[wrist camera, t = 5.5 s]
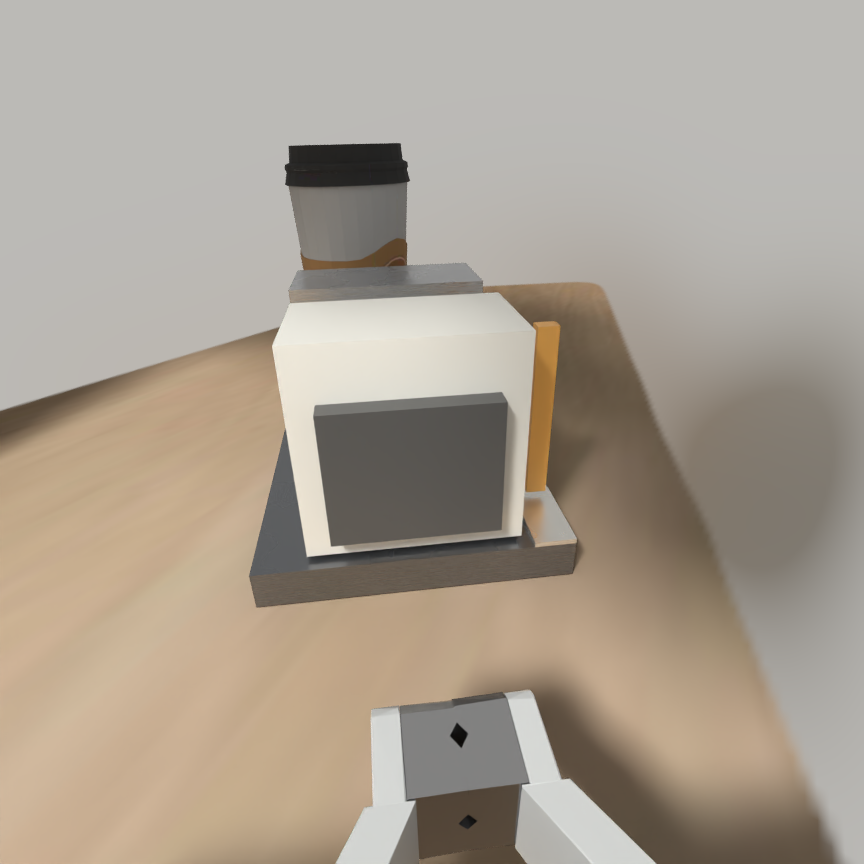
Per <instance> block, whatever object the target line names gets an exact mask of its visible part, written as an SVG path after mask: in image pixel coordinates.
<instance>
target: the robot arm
mask: <svg viewBox="0 0 864 864" xmlns="http://www.w3.org/2000/svg"><path fill="white" fill-rule="evenodd" d="M400 723H401V725H400ZM371 750H372V789H373V806H369V807H364V809H363V811H362V813H361V815H360V817H359V819H358V821H357V823H356V825H355V827H354V829H353V831H352V833H351V835H350V836H349V838H348V840H347V842H346V844H345V846H344V848H343V850H342V852H341V854H340V856H339V858H338V860H337V862H336V864H419V859H424V858H430V857H435V856H441V855H446V854H452V853H457V852H462V851H468V850H477V849H485V848H493V847H501V846H510V845H515V848H516V850H517V851H518V852H519V854H520V855H521V856H522V858H523V859H524V860H525V862H526V863H527V864H656V863H655V862H654V861H653V860H652V859H651V858H650V857H649V856H648V855H647V854H646V853H645V852H644V851H643V850H642V849H641V848H640V847H639V846H638V845H637V844H636V843H635V842H634V841H633V840H632V839H631V838H630V837H629V836H628V835H627V834H626V833H625V832H624V831H623V830H622V829H621V828H620V827H619V826H618V825H617V824H616V823H615V822H614V821H613V820H612V819H611V818H610V817H609V816H608V815H607V814H606V813H605V812H604V811H603V810H602V809H601V808H600V807H599V806H597V805H596V804H595V803H594V802H593V801H592V800H591V799H590V798H589V797H588V796H587V795H586V794H585V793H584V792H583V791H582V790H581V789H580V788H579V787H578V786H577V785H576V784H575V783H574V782H573V781H572V780H571V779H570V778H568V779H562V778H561V775H560V772H559V769H558V766H557V763H556V760H555V757H554V754H553V751H552V748H551V745H550V742H549V739H548V736H547V733H546V730H545V727H544V723H543V720H542V717H541V714H540V711H539V708H538V705H537V702H536V699H535V696H534V694H533V693H532V692H531V690H529V689H528V690H521V691H514V692H507V693H503V692H500V693H493V694H486V695H479V696H472V697H465V698H458V699H452V700H449V701H440V702H431V703H422V704H413V705H404V706H400V713H399V706H392V707H384V708H376V709H372V711H371Z"/></svg>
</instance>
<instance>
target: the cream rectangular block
mask: <svg viewBox="0 0 864 864" xmlns="http://www.w3.org/2000/svg"><path fill="white" fill-rule="evenodd" d="M559 337H560V325H559V324H558V323H557V322H556V321H547V322H534V324H533V327H532V326H531V325H530V324H529V323H528V322H527V321H526V320H525V319H524V318H523V317H522V316H521V315H520V314H519V313H518V312H517V311H516V310H515V309H514V308H513V307H512V306H511V305H510V304H509V303H508V302H507V301H506V300H505V299H504V298H503V297H502V296H501V295H500V294H499V293H498V292H497V293H478V294H459V295H439V296H420V297H401V298H382V299H362V300H343V301H324V302H305V303H290V304H289V307H288V309H287V311H286V314H285V316H284V319H283V321H282V324H281V326H280V328H279V331H278V333H277V336H276V338H275V340H274V343H273V345H272V349H273V355H274V361H275V367H276V373H277V379H278V385H279V391H280V397H281V403H282V409H283V415H284V421H285V427H286V433H287V439H288V445H289V451H290V457H291V463H292V469H293V475H294V481H295V487H296V493H297V500H298V506H299V512H300V518H301V524H302V530H303V536H304V542H305V548H306V554H307V557H310V556H320V555H330V554H340V553H351V552H361V551H371V550H381V549H391V548H401V547H411V546H421V545H432V544H442V543H452V542H462V541H472V540H482V539H492V538H502V537H512V536H521V535H522V520H523V506H524V492H525V491H526V492H537V491H545V488H546V477H547V467H548V456H549V445H550V434H551V423H552V413H553V402H554V391H555V380H556V369H557V359H558V348H559Z"/></svg>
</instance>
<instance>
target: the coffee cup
mask: <svg viewBox="0 0 864 864" xmlns="http://www.w3.org/2000/svg"><path fill="white" fill-rule="evenodd" d="M407 167H408V165H407V162H406V161H404V160H403V159H402V152H401V145H400V143H389V144H343V145H304V146H289V163H288V164H286V165H285V170H286V172H287V174H286V183H285V185H287V186H289V190H290V195H291V201H292V206H293V211H294V216H295V222H296V227H297V231H298V237H299V242H300V247H301V259H302V263H303V269H304V270H321V269H343V268H365V267H387V266H407V243H406V207H407V206H406V205H407V182H409V181H410V179H409V176H408V172H407Z"/></svg>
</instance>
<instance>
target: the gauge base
mask: <svg viewBox="0 0 864 864" xmlns="http://www.w3.org/2000/svg"><path fill="white" fill-rule="evenodd" d="M478 293H483V280H482V279H481V278H480V277H479V276H478V275H477V274H476V273H475V272H474V271H473V270H472V269H471V268H470V267H469V266H468V265H467V264H466V263H455V264H454V263H453V264H430V265H409V266H387V267H365V268H343V269H321V270H300V271H297V273H296V276H295V278H294V280H293V282H292V284H291V286H290V289H289V297H290V303H305V302H324V301H343V300H362V299H382V298H401V297H420V296H439V295H459V294H478ZM576 544H577V538H576V536H575V534H574V533H573V531H572V529H571V527H570V525H569V524H568V522H567V520H566V518H565V517H564V515H563V513H562V511H561V510H560V508H559V506H558V504H557V503H556V501H555V499H554V497H553V496H552V494H551V492H550V490H549V489H548V487H547V485H546V488H545V491H537V492H526V491H525V492H524V506H523V520H522V535H521V536H512V537H502V538H492V539H482V540H472V541H462V542H452V543H442V544H432V545H421V546H411V547H401V548H391V549H381V550H371V551H361V552H351V553H340V554H330V555H320V556H310V557H307V554H306V548H305V542H304V536H303V530H302V524H301V518H300V512H299V506H298V500H297V493H296V487H295V481H294V475H293V469H292V463H291V457H290V451H289V445H288V439H287V433H286V428H285V432H284V436H283V440H282V444H281V449H280V453H279V457H278V461H277V465H276V469H275V473H274V477H273V481H272V485H271V489H270V493H269V498H268V502H267V506H266V510H265V514H264V518H263V522H262V526H261V530H260V534H259V538H258V542H257V547H256V551H255V555H254V559H253V563H252V567H251V571H250V575H249V577H250V582H251V586H252V590H253V595H254V599H255V603H256V607H264V606H274V605H283V604H292V603H302V602H311V601H320V600H330V599H339V598H348V597H358V596H367V595H376V594H386V593H395V592H404V591H414V590H423V589H432V588H442V587H451V586H460V585H470V584H479V583H488V582H497V581H507V580H516V579H525V578H535V577H544V576H553V575H563V574H572V573H573V566H574V559H575V551H576Z"/></svg>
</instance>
